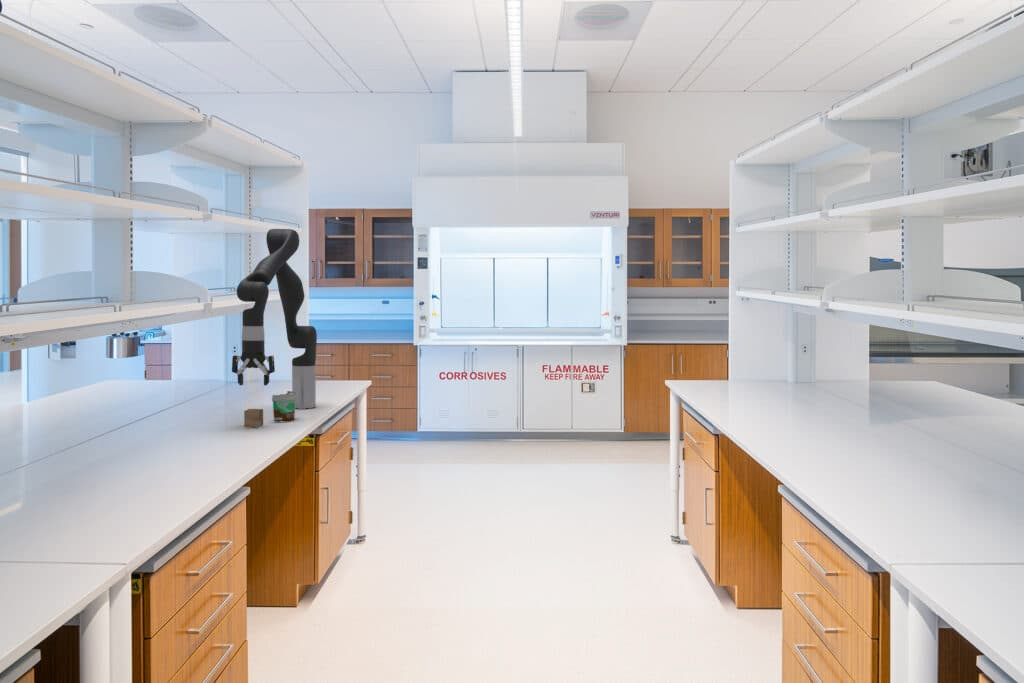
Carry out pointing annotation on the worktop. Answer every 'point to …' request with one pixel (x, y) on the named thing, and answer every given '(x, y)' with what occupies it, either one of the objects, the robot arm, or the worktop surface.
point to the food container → (284, 406)
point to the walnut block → (253, 418)
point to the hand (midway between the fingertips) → (253, 385)
